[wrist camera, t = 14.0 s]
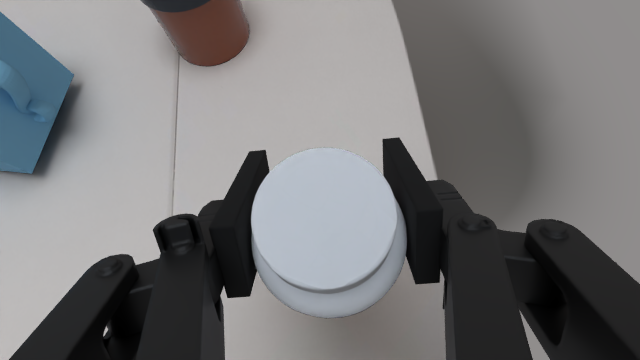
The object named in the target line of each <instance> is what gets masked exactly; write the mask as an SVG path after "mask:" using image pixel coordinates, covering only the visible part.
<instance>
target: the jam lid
mask: <svg viewBox="0 0 640 360" xmlns="http://www.w3.org/2000/svg"><path fill="white" fill-rule="evenodd" d="M141 1H142V2H143V3H144V4H145V5H146V6H148V7H150V8H152V9H154V10H157V11H161V12H170V13H174V12H183V11H188V10H192V9H194V8H197V7H199V6H202V5H204V4H205V3H207V2H209V1H210V0H141Z"/></svg>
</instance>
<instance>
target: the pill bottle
mask: <svg viewBox="0 0 640 360" xmlns="http://www.w3.org/2000/svg"><path fill="white" fill-rule="evenodd" d="M251 227H252V235H251V246H252V254H253V259H254V263H255V266H256V268H257V271H258V273H259V275H260V277H261V279H262V281H263V282H264V284H265V285H266V287H267V288H268V289H269V290H270V292H271V293H272V294H273V295H274V296H275V297H276V298H277V299H279V300H280V301H281V302H282V303H284V304H285V305H287V306H288V307H290V308H291V309H293V310H296V311H298V312H300V313H303V314H306V315H310V316H314V317H321V318H341V317H347V316H351V315H354V314H357V313H359V312H362V311H364V310H366V309H367V308H369V307H371V306H372V305H374V304H375V303H376V302H377V301H379V300H380V299H381V298H382V297H383V296H384V295H385V294H386V293H387V292H388V291H389V289H390V288H391V287H392V286H393V284H394V283H395V281H396V279H397V278H398V276H399V274H400V272H401V269H402V266H403V264H404V260H405V256H406V250H407V230H406V224H405V220H404V216H403V213H402V211H401V208H400V206H399V204H398V202H397V200H396V199H395V197H394V195H393V192H392V190H391V188H390V185H389V184H388V182H387V180H386V179H385V177H384V176H383V175H382V173H381V172H380V171H379V170H378V169H377V168H376V167H375V166H374V165H373V164H372V163H370V162H369V161H367V160H366V159H364V158H363V157H361V156H359V155H357V154H355V153H352V152H350V151H347V150H343V149H338V148H331V147H323V148H313V149H308V150H304V151H301V152H298V153H296V154H293V155H291V156H289V157H288V158H286V159H284V160H283V161H282V162H280V163H279V164H278V165H276V166H275V167H274V168H273V169H272V170H271V171H270V172H269V173H268V175H267V176H266V177H265V179H264V180H263V182H262V183H261V185H260V187H259V188H258V191H257V193H256V195H255V199H254V202H253V206H252V213H251Z"/></svg>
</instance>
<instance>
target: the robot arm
mask: <svg viewBox="0 0 640 360" xmlns="http://www.w3.org/2000/svg"><path fill="white" fill-rule="evenodd" d="M268 173H269V167H268V161H267V155H266V150H261V151H250V152H249V153H248V155H247V157H246V159H245V161H244V163H243V165H242V166H241V168H240V170H239V172H238V174H237V176H236V178H235V180H234V181H233V183H232V185H231V187H230V189H229V191H228V193H227V195H226V196H225V198H224V200H215V201H211V202H209V203H208V204H207V205H206V206H204V207H203V208H202V210H201V211H200V213H199V214H198V216H195V215H193V214H180V215H175V216H172V217H169V218H167V219H165V220H163V221H161V222H160V223H158V224H157V225H156V226H155V228H154V229H153V232H154V235H155V238H156V240H157V243H158V246H159V249H160V252H161V254H160V258H159V259H156V260H153V261H150V262H146V263H142V264H138V265H135V263H134V260H133V258H132V256H130V255H127V254H119V255H114V256H109V257H108V258H104V259H102V260H100V261H99V262H97V263H95V264H94V265H93V266H91V267H90V268H89V269H88V270H87V271H86V272H85V273H84V274H83V276H82V277H81V278H80V279H79V280H78V281H77V282H76V284H75V285H74V286H73V287H72V288H71V289H70V290H69V292H68V293H67V294H66V295H65V296H64V297H63V298H62V300H61V301H60V302H59V303H58V304H57V305H56V306H55V308H54V309H53V310H52V311H51V312H50V313H49V314H48V316H47V317H46V318H45V319H44V320H43V321H42V322H41V324H40V325H39V326H38V327H37V328H36V329H35V330H34V332H33V333H32V334H31V335H30V336H29V337H28V338H27V340H26V341H25V342H24V343H23V344H22V345H21V346H20V348H19V349H18V350H17V351H16V352H15V353H14V354H13V356H12V357H11V358H10V359H9V360H225V346H224V314H223V304H222V300H221V297H220V295H221V292H222V289H223V286H224V287H225V291H226V294H227V298H235V297H249V296H250V295H251V291H252V287H253V283H254V279H255V275H256V272H257V268H256V266H255V263H254V259H253V254H252V246H251V235H252V227H251V213H252V206H253V202H254V199H255V195H256V193H257V191H258V188H259V187H260V185H261V183H262V182H263V180H264V179H265V177H266V176H267V175H268ZM383 173H384V177H385V179H386V180H387V182H388V184H389V185H390V188H391V190H392V192H393V195H394V197H395V199H396V200H397V202H398V204H399V206H400V208H401V211H402V213H403V216H404V220H405V224H406V230H407V250H406V257H407V260H408V263H409V266H410V269H411V272H412V275H413V278H414V281H415V284H427V283H440V269H441V271H442V273H443V276H444V278H445V280H444V296H443V309H444V310H445V340H446V360H533V359H532V355H531V351H530V348H529V344H528V341H527V337H526V333H525V330H524V326H523V322H522V319H521V315H520V312H519V310H520V311H521V313H522V314H523V316H524V318H525V319H526V321H527V323H528V324H529V326H530V328H531V329H532V331H533V332H534V334H535V336H536V337H537V339H538V341H539V342H540V344H541V345H542V347H543V349H544V350H545V352H546V353H547V355H548V357H549V358H550V360H640V284H639V283H638V282H637V281H635V280H634V279H633V278H632V277H631V276H630V275H629V274H628V273H627V272H625V271H624V270H623V269H622V268H621V267H620V266H619V265H617V264H616V263H615V262H614V261H613V260H612V259H611V258H610V257H609V256H607V255H606V254H605V253H604V252H603V251H602V250H601V249H600V248H599V247H597V246H596V245H595V244H594V243H593V242H592V241H591V240H590V239H589V238H587V237H586V236H585V235H584V234H583V233H582V232H581V231H579V230H578V229H577V228H575V227H574V226H572V225H569V224H567V223H564V222H562V221H558V220H557V221H556V220H553V219H541V220H534V221H532V222H530V223H529V224H528V226H527V229H526V233H520V232H510V231H503V230H498V229H497V228H496V225H495V224H494V222H493V221H492V220H491V219H489V218H487V217H485V216H482V215H479V214H474V213H473V212H472V210H471V209H470V207H469V206H468V205H467V203H466V202H465V201H464V199H462V197H461V195H460V194H459V193H458V191H457V190H456V189H455V187H454V186H453V185H451V184H450V183H448V182H446V181H444V180H434V181H426V180H425V178H424V177H423V175H422V174H421V172H420V170H419V169H418V167H417V165H416V164H415V162H414V161H413V159H412V157H411V156H410V154H409V153H408V151H407V149H406V148H405V146H404V144H403V143H402V141H401V140H400V138H389V139H383ZM106 326H107V328H108V331H107V333H106V334H105V336H104V337H103V334H104V330H105V328H106Z"/></svg>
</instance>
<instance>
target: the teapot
mask: <svg viewBox="0 0 640 360" xmlns="http://www.w3.org/2000/svg"><path fill="white" fill-rule="evenodd" d="M73 76H74V74H73V73H71V72H70V71H69V70H68V69H67V68H66V67H64V66H63V65H62V64H61V63H60V62H59V61H57V60H56V59H55V58H54V57H53V56H52V55H50V54H49V53H48V52H47V51H46V50H44V49H43V48H42V47H41V46H40V45H39V44H37V43H36V42H35V41H34V40H33V39H32V38H30V37H29V36H28V35H27V34H26V33H25V32H23V31H22V30H21V29H20V28H19V27H18V26H16V25H15V24H14V23H13V22H12V21H10V20H9V19H8V18H7V17H6V16H5V15H3V14H2V13H1V12H0V170H1V171H11V172H21V173H31V174H32V172H33V170H34V168H35V165H36V163H37V161H38V159H39V157H40V154H41V151H42V149H43V147H44V144H45V142H46V139H47V137H48V135H49V132H50V130H51V128H52V125H53V123H54V121H55V118H56V116H57V114H58V111H59V109H60V106H61V104H62V102H63V100H64V97H65V95H66V92H67V90H68V88H69V85H70V83H71V81H72V78H73Z"/></svg>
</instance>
